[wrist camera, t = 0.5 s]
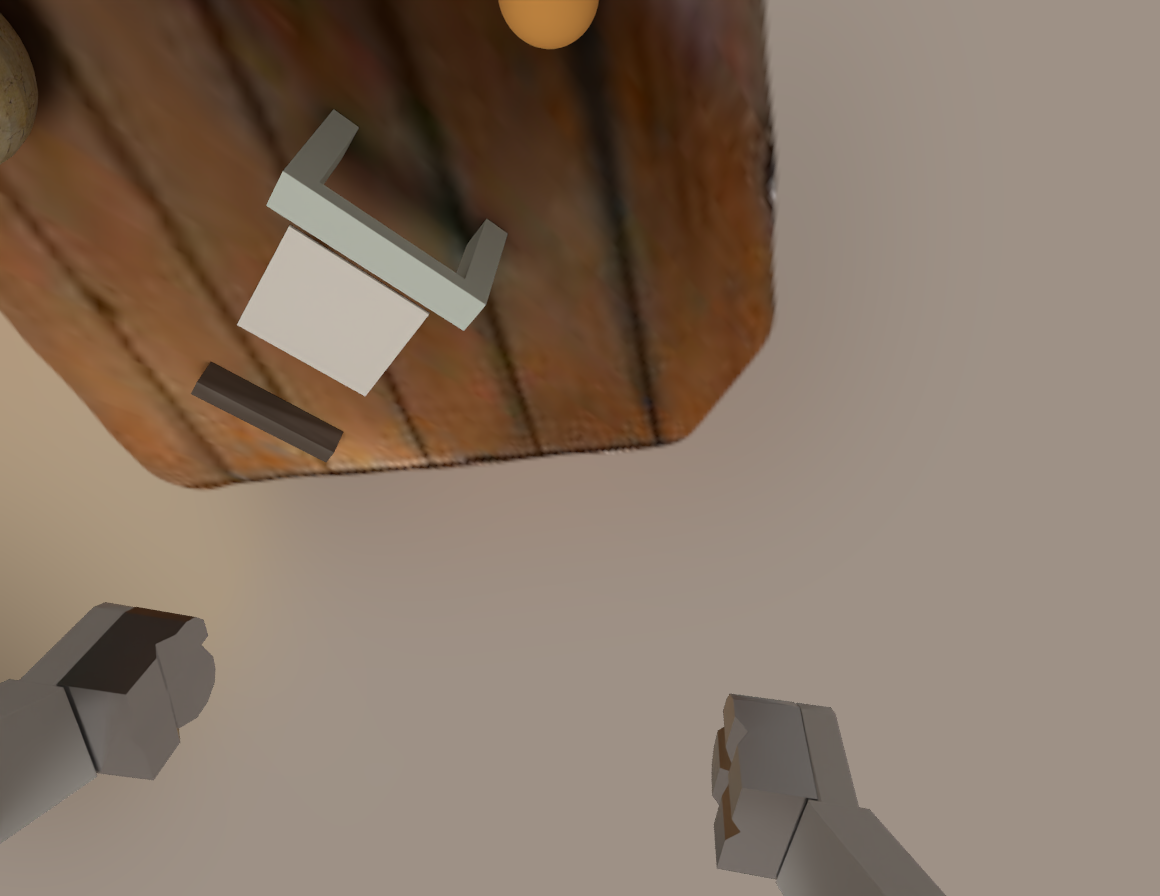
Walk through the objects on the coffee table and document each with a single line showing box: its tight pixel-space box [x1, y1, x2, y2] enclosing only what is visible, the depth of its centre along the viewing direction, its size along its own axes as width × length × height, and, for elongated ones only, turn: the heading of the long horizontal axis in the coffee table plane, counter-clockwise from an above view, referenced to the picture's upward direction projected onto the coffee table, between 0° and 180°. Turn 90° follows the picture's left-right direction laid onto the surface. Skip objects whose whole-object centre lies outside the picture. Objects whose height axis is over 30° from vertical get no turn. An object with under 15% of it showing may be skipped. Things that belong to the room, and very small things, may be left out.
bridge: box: [266, 109, 508, 331], centre depth 52 cm, size 3×15×10 cm, turn 52°
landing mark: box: [237, 225, 429, 396], centre depth 65 cm, size 13×13×1 cm
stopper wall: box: [191, 362, 343, 462], centre depth 73 cm, size 2×14×3 cm, turn 52°
